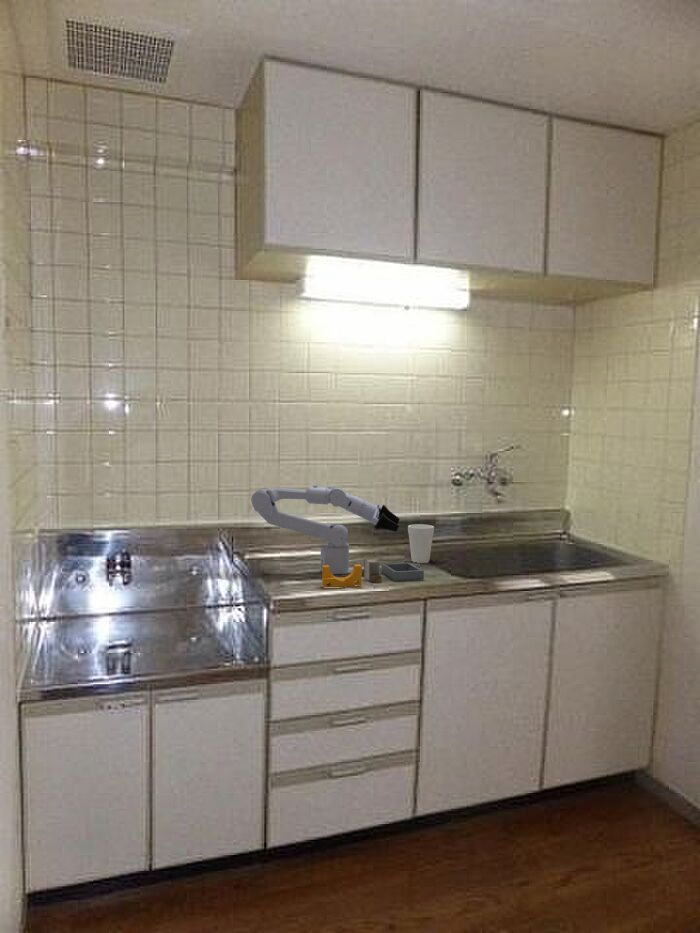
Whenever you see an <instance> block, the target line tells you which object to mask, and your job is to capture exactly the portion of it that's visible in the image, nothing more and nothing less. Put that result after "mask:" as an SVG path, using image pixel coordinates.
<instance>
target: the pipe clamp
mask: <svg viewBox="0 0 700 933" xmlns="http://www.w3.org/2000/svg"><path fill="white" fill-rule="evenodd" d="M362 569H363V567H362V564H355V563H354V565H353V568H352V570H351V571H352V572H351V573H349V574H348V575H347V576H345V577H339V576H338V577H337V576H335V574H331V572H330V567H329V565H322V571H321V585H323V586H322V588H323V587H345V586H352V587H356V586H355V585H362V581H363V580H362V579H363V575H362ZM345 588H346V587H345Z"/></svg>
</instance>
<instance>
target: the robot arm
mask: <svg viewBox="0 0 700 933" xmlns="http://www.w3.org/2000/svg"><path fill="white" fill-rule="evenodd" d="M284 499H285V500H305V501H306V502H307V503H308V504H313V505H314V504H315V505H325V506H326V505H328V504H331V505H332V507H337V508H338V507H340V508H342V509H344V510H345V511H347V512H349V513H351V514H353V515H356V516H358V517H360V518H362V519H364V520H365V521H368V522H369V523H371V524H373V525H374V529H375V530H387V531H391V532H398V529H399V527H400V526H399V521H400V518H399V516H397V515H395V514H394V513H393V512H392V511H391V510H390V509H388V507H387V506H386V505H385V504H382V506H381V503H379V502H378V503H377V504H374V503H372V502H370V501H367V500H366V499H363V498H360V497H359V496H356V495H355V494H351V493H350V492H345V490H344V489H343V488H342V487H341V488H340V487H337V486H335V487H332V486H331V485H329V486H328V487H325V486H324V487H323V486H322V487H320V486H318V485H317V484H313V486H309V487H308V488H307V489H298V488H288V487H269V488H267V487H263V488H262V487H261V488H260V489H259V490H256V491H254V493H253V494H252V496H251V499H250V500H251V504H252V507H253V509H254V511H256V513H258V514H259V516H261V517H262V519H263V520H265V522H266V523H267V524H269V525H272V526H276V527H280V528H283V529H287V530H290V531H294V532H298V533H301V534H305V535H309V536H313V537H315V538H319V539H321V540H323V541H325V542H328V543H327V546H322V547H320V568H319V570H320V572H322V565H329V567H330V572H331V574H332V575H345V574H348V575H349V574H350V573H351V572H352V571H353V570H350V544H349V543H348V542H347V541H348V536H349V530H348V528H347V527H346V526H345V525H344V524H342V523H341V524H330V523H322V522H318V521H314V520H311V519H307V518H304V517H301V516H297V515H293V514H289V513H285V512H282V511H279V509H278V507H277V505H276V502H278V501H280V500H284Z"/></svg>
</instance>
